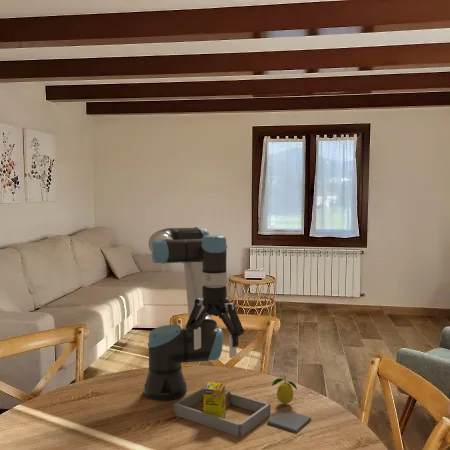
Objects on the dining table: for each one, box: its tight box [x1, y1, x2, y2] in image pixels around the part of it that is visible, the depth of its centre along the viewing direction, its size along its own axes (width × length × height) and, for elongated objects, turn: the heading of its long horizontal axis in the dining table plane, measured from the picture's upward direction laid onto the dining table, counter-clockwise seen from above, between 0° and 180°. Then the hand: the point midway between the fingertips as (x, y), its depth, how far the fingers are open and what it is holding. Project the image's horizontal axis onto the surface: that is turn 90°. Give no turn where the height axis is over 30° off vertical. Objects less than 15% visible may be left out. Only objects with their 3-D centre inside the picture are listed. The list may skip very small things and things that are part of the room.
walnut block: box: [225, 389, 231, 410], centre depth 165 cm, size 5×5×5 cm
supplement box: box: [203, 381, 226, 419], centre depth 155 cm, size 6×6×11 cm
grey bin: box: [173, 386, 271, 438], centre depth 159 cm, size 26×18×4 cm
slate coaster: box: [266, 409, 312, 433], centre depth 154 cm, size 10×10×1 cm
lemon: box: [271, 375, 298, 406], centre depth 166 cm, size 7×6×10 cm
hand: (214, 352), depth 154 cm, fingers open, 13 cm apart
